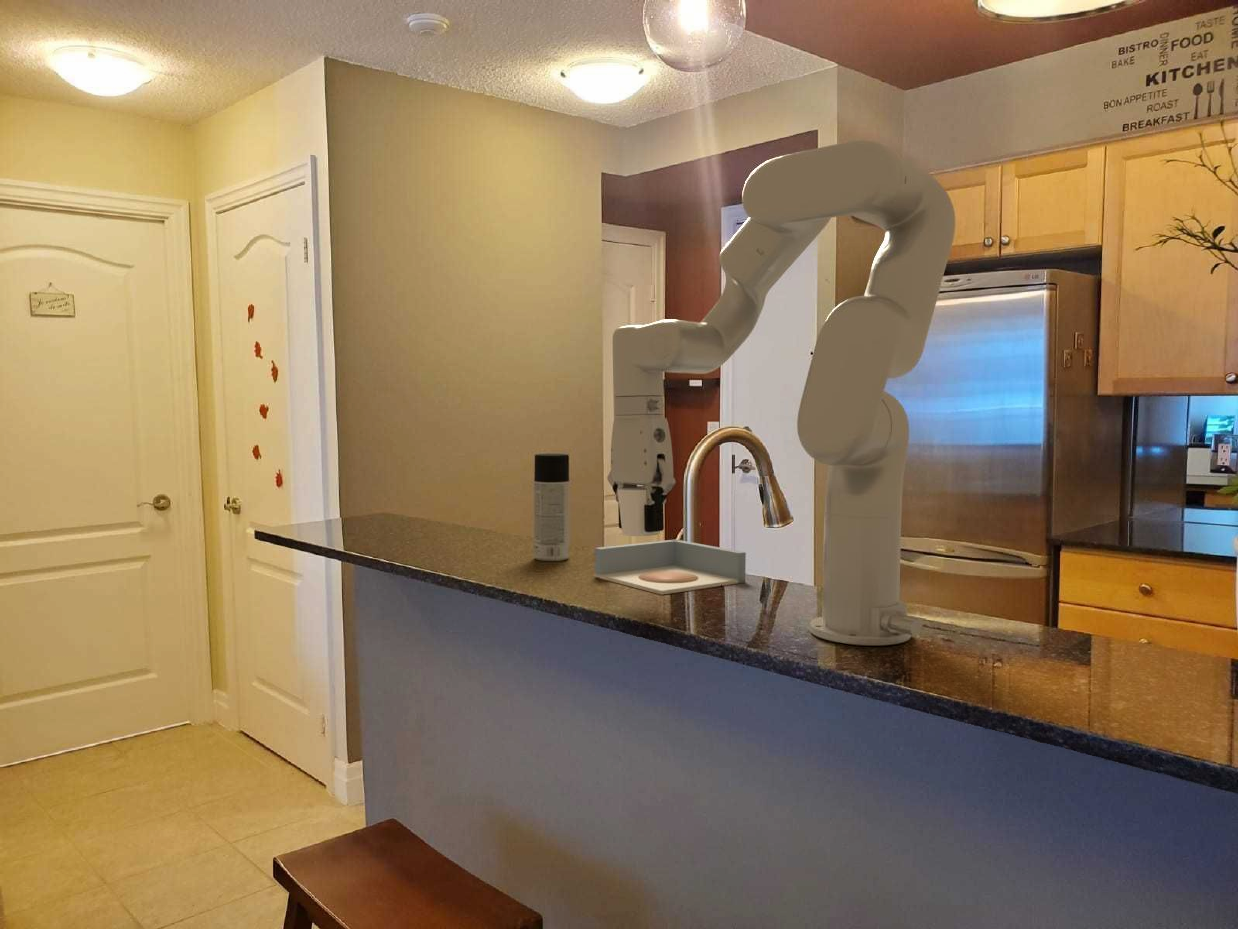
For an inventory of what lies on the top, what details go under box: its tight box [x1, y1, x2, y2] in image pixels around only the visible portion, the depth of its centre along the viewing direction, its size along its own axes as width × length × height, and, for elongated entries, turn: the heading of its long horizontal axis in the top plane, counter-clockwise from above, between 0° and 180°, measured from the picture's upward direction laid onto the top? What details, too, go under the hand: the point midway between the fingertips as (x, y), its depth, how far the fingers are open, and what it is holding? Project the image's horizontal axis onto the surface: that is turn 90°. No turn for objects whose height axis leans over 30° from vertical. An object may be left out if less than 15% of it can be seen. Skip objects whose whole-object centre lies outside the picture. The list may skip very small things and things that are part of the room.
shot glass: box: [618, 485, 661, 537], centre depth 138 cm, size 7×7×7 cm
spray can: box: [533, 453, 570, 562], centre depth 174 cm, size 7×7×20 cm
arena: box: [594, 539, 747, 596], centre depth 154 cm, size 18×18×5 cm
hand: (640, 528), depth 138 cm, fingers closed on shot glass, 5 cm apart
